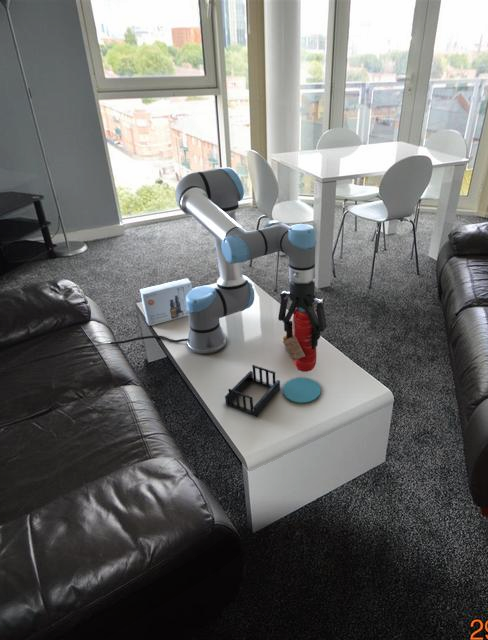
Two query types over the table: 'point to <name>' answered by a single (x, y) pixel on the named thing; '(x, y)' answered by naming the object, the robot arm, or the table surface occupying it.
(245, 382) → the rack
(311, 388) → the mat
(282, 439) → the table surface
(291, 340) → the water bottle
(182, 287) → the skincare box
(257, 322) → the table surface
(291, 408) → the table surface
